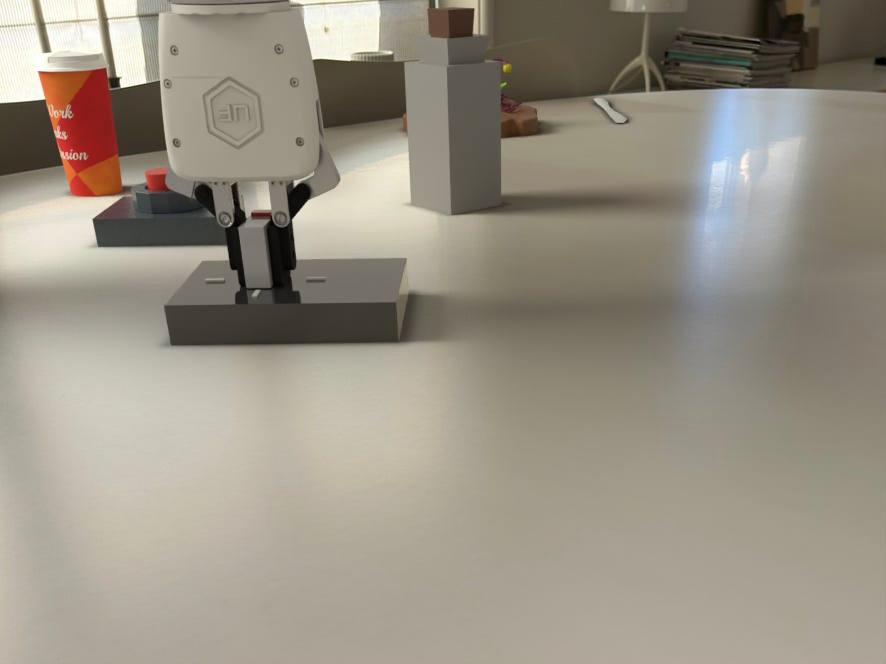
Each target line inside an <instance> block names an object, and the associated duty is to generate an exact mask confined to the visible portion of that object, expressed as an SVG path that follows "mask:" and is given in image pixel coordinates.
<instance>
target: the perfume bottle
mask: <svg viewBox="0 0 886 664" xmlns="http://www.w3.org/2000/svg"><path fill="white" fill-rule="evenodd" d="M475 10H476V9H475V7H457V6H451V7H435V8H433V7H432V8H426V11H427V20H428V28H429V34H418V35H412V39H413V42H414V45H415V50H416V53H417V56H418V60H413V61H404V64H403V65H404V66H403V68H404V85H405V87H404V88H405V105H406V113H407V130H408V132H407V148H408V149H407V150H408V171H409V190H410V192H409V193H410V205H411V206H414V207H419V208H422V209H426V210H430V211H435V212H438V213H442V214H446V215H449V216H453V215H458V214H463V213H467V212H473V211H478V210H483V209H488V208H494V207H498V206H502V138H501V94H502V89H501V84H502V74H501V73H502V70H501V69H502V67H501V66H502V65H501V64H502V62H501V61H492V60H490V59H486V56H487V52H488V48H489V45H490V40H491V35H492V34H483V33H482V34H481V33H474V26H475V25H474V23H475Z"/></svg>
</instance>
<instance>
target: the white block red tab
mask: <svg viewBox="0 0 886 664" xmlns="http://www.w3.org/2000/svg"><path fill="white" fill-rule="evenodd" d="M271 216H272V210H271V209H252V211H251V212H250V215H249V216H248V217H246V218H247V219H246V220H245V221H244V222H243V223H242V224H241V225H240V226H239V227H238V230H239V237H240V244H241V252H242V259H243V266H244V274H245V281H246V288H271V287H272V286H273V285H274V283H273V278H272V270H271V261H270V253H269V245H268V237H267V229H268V228H269V227H270V226H271V222H270V217H271Z"/></svg>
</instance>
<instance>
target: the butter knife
mask: <svg viewBox="0 0 886 664" xmlns="http://www.w3.org/2000/svg"><path fill="white" fill-rule="evenodd" d="M593 101H594V102H595V103H596V104H597V106H599V107H601V108H602V109H603V111H605V112H606V113H607V114H608V116H609V117H610V118H611V119H612V120H613V121H614V122H615V123H616V124H624V123H625V122H626V121H627V120H628V118H627V117H625V116H624V115H623V114H621V113H619V112H617V111H615V110H614V109H613V108H612V107H611V106H610V104H609V102H608V100H607V99H605V98H603V97H595V98H593Z"/></svg>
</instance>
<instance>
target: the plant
mask: <svg viewBox="0 0 886 664" xmlns="http://www.w3.org/2000/svg"><path fill="white" fill-rule="evenodd" d="M489 60H492V61H501V64H502V71H503V72H504V73H505V74H507V75H510V74H511V72H512V71H513V66H512V64H511V63H510V62H509V61H508V60H507V59H504V58H503V57H500V56H494V57H491V58H490V59H489ZM506 85H507V82H506V81H505V82H501V90H502V89H504V87H505V86H506ZM402 124H403V131H404V132H406V133H408V130H407V112H405V113H404V114H403V115H402ZM538 132H539V117H538V109H537V108H536V107H533V106H531V105H527V104H523V103H522V101H521V100H518V101H515V100H513V99H512V98H511V97H509V96H507V95H506V93H505V92H502V93H501V139H504V138H509V137H526V136H532V135H535V134H537V133H538Z"/></svg>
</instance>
